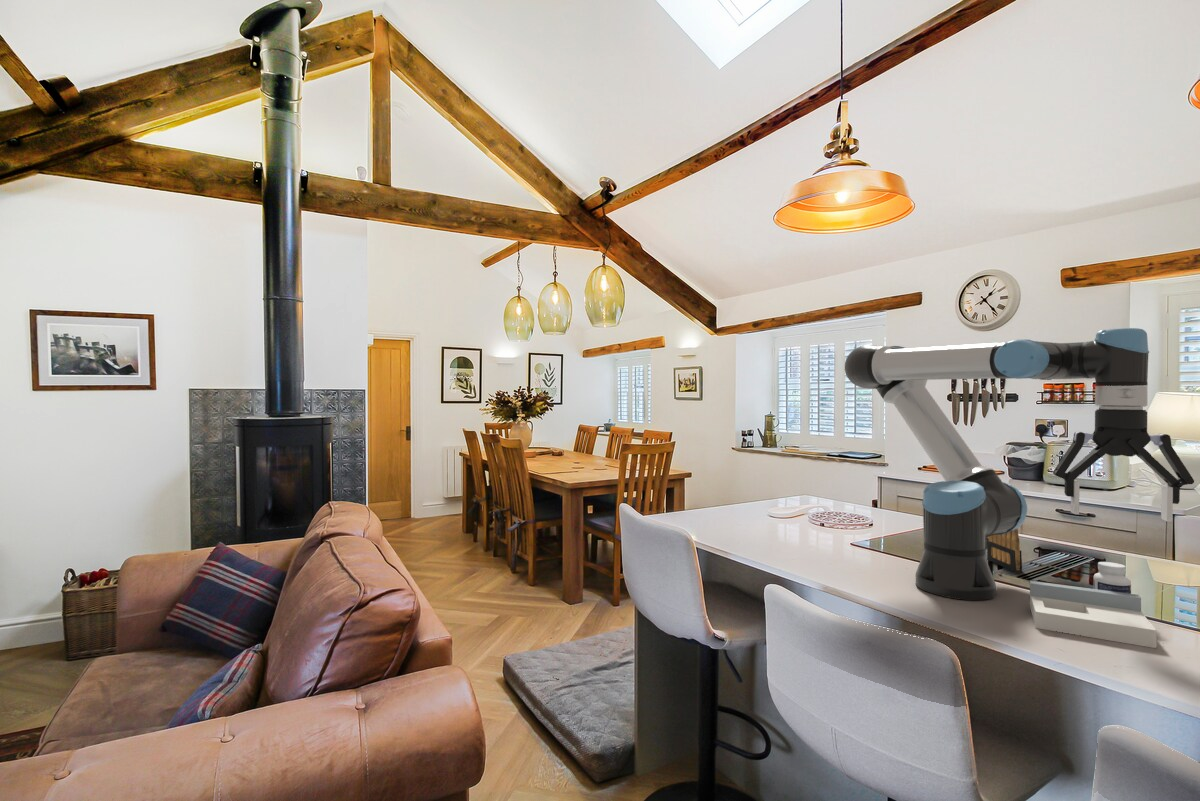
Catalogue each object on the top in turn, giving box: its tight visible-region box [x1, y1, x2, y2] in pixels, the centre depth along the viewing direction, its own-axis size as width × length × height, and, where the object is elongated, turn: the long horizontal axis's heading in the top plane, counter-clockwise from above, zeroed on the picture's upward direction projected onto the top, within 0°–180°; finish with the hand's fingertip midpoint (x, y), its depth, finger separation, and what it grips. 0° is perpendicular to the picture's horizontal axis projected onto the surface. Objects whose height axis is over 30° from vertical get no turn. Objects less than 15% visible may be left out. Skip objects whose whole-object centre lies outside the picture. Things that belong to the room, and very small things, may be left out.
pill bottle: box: [1093, 561, 1132, 594], centre depth 109 cm, size 5×5×10 cm
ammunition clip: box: [986, 527, 1023, 573], centre depth 142 cm, size 11×2×12 cm, turn 177°
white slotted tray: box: [1029, 580, 1157, 649], centre depth 103 cm, size 16×12×6 cm
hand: (1119, 516), depth 109 cm, fingers open, 13 cm apart
